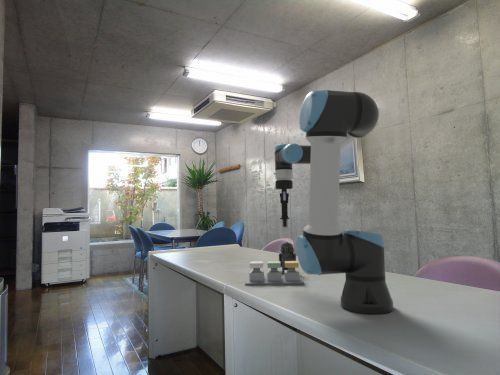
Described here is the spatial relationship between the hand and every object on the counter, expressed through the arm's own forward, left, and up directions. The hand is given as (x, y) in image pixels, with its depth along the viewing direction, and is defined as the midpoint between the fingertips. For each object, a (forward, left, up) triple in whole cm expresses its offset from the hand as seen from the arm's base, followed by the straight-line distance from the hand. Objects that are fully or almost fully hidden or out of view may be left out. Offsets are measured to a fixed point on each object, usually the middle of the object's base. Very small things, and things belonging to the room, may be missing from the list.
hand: (284, 234), depth 139 cm
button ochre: (-1, -2, -17) cm, 17 cm away
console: (+3, +4, -20) cm, 21 cm away
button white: (+8, +10, -17) cm, 21 cm away
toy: (+13, -12, -20) cm, 27 cm away
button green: (+3, +4, -17) cm, 18 cm away
